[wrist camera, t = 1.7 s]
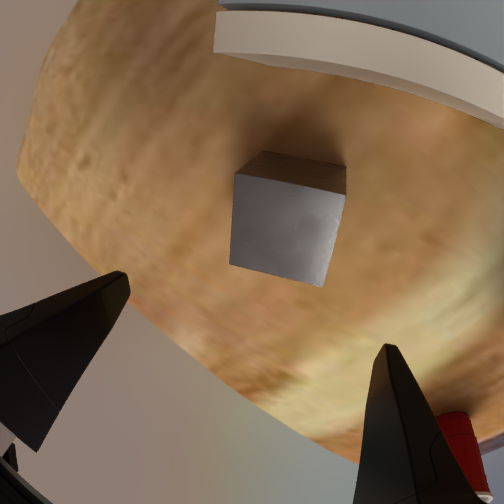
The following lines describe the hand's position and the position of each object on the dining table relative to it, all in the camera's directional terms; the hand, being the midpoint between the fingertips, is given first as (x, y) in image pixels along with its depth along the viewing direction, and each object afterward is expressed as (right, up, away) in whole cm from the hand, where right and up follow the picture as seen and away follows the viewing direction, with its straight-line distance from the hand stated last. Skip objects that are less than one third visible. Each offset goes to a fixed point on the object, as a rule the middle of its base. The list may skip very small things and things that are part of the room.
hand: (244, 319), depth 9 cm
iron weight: (+3, +5, +9) cm, 11 cm away
